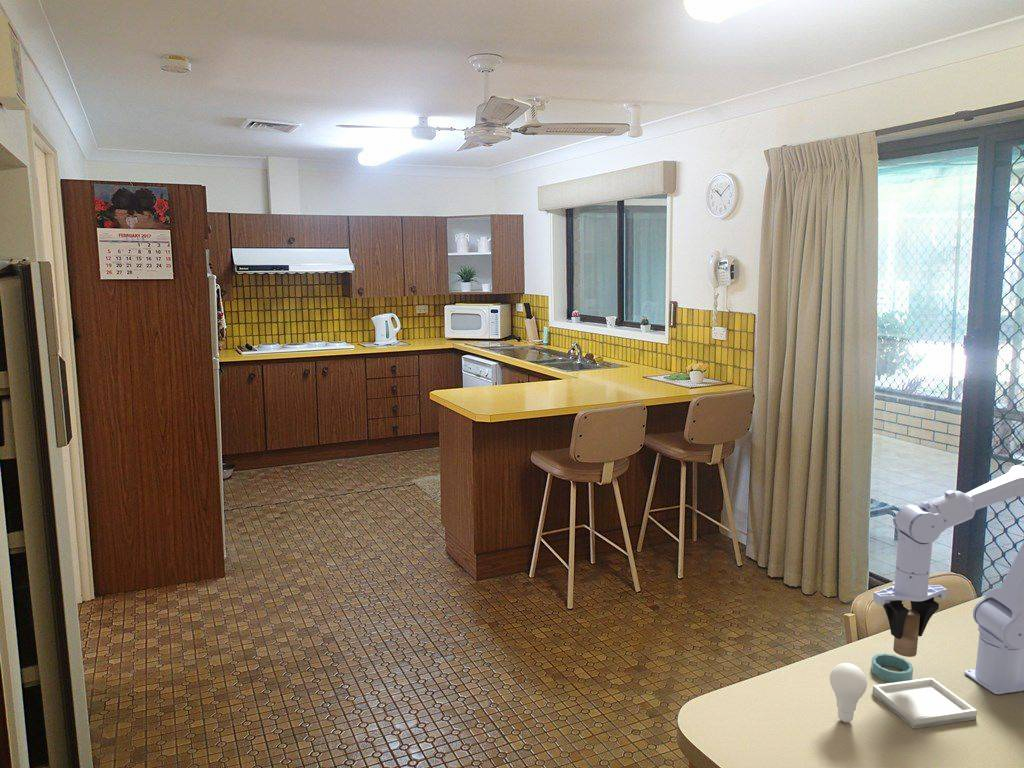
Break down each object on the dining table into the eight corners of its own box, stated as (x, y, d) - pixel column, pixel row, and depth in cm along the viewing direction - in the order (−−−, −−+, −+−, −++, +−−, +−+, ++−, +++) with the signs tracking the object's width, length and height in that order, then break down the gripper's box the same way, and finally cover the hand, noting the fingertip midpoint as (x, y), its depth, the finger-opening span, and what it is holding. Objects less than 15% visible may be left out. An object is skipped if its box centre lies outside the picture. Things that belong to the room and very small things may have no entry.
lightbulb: (867, 733, 133) (872, 676, 131) (830, 729, 134) (834, 672, 132) (858, 713, 139) (863, 658, 137) (823, 709, 140) (827, 654, 138)
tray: (931, 685, 147) (931, 677, 147) (976, 719, 137) (977, 710, 137) (872, 694, 145) (873, 685, 144) (913, 728, 134) (914, 719, 134)
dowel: (906, 645, 149) (910, 607, 148) (921, 655, 145) (925, 616, 144) (888, 647, 148) (892, 609, 147) (903, 657, 144) (906, 618, 143)
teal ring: (894, 661, 156) (895, 652, 156) (919, 681, 149) (920, 670, 149) (863, 666, 155) (864, 656, 154) (887, 685, 148) (888, 675, 147)
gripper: (930, 557, 149) (924, 621, 151) (865, 563, 146) (859, 628, 149) (957, 572, 142) (950, 638, 145) (889, 578, 139) (883, 647, 142)
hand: (906, 635), depth 146 cm, fingers closed on dowel, 4 cm apart
